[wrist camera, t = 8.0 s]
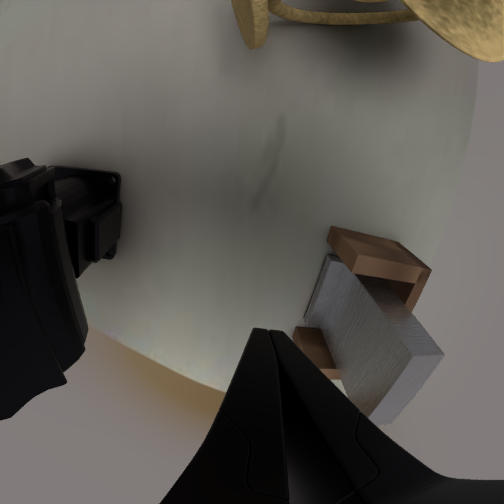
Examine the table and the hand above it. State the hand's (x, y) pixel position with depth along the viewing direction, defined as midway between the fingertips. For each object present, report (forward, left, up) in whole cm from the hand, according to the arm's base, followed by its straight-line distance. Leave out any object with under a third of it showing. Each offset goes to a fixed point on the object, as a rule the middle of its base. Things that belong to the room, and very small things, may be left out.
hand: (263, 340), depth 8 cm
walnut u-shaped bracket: (+10, -5, -13) cm, 17 cm away
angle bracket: (+9, -5, -13) cm, 17 cm away
